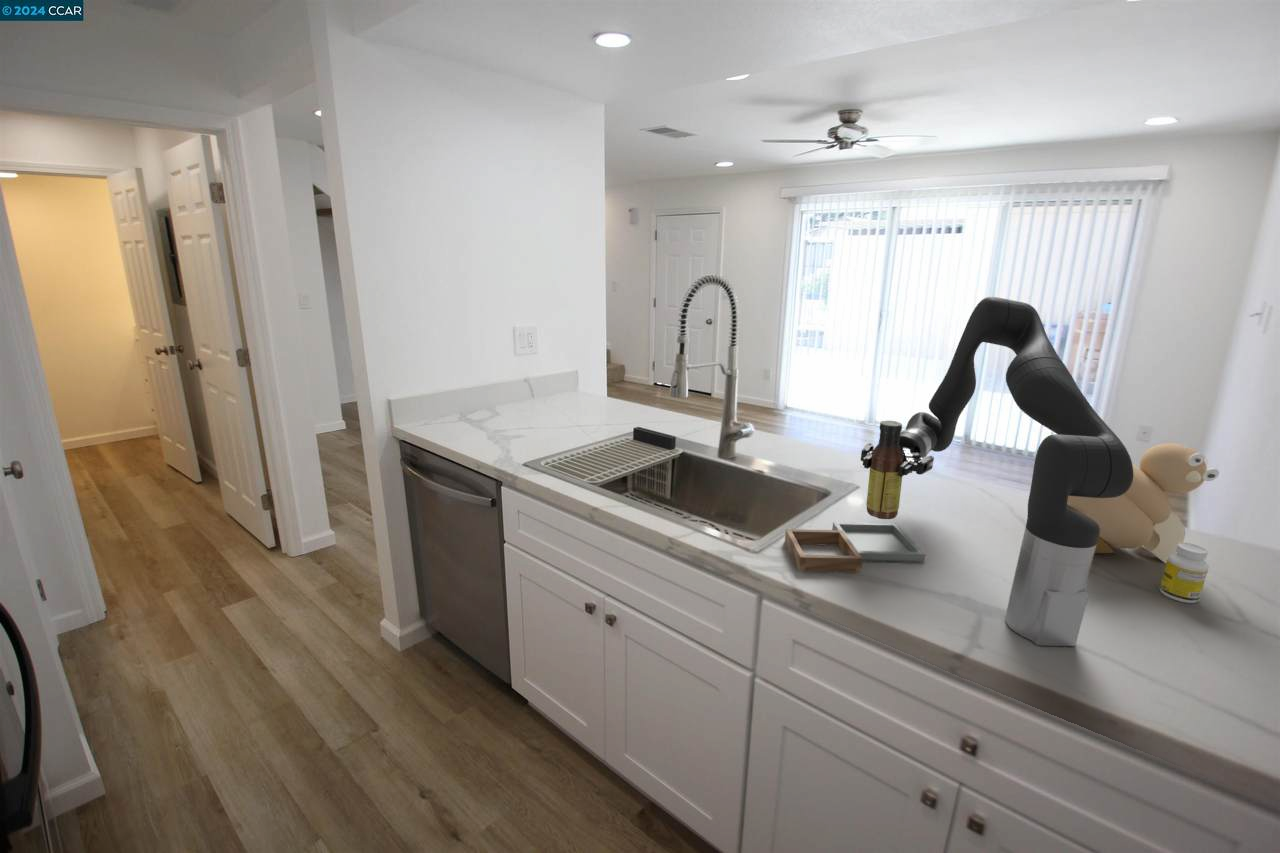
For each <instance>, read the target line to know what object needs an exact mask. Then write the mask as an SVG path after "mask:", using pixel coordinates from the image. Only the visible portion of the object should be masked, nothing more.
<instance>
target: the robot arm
mask: <svg viewBox="0 0 1280 853" xmlns="http://www.w3.org/2000/svg"><path fill="white" fill-rule="evenodd" d="M982 343H986V344H992V345H996V346H1001V347H1006V348H1008V349H1010V350H1012V351H1013V352H1014V354H1015V357H1014V358H1013V359H1012V360H1011V362H1010V363H1009V365H1008V367H1007V369H1006V373H1005V382H1006V386H1007V388H1008V390H1009V392H1010V394H1011V397H1012V398H1013V401H1014V402H1015V404H1016V406H1017V407H1018V408H1019V410H1021V412H1023V413H1024V414H1025V415H1026V416H1028V417H1029V418H1030V419H1032V420H1034V421H1035V422H1037V423H1039V424H1040V425H1041V426H1043V427H1045V428H1046V429H1049V431H1052V432H1054V434H1050V435H1048V436H1046V437H1045V438H1043V440H1042V441H1041V443H1040V444H1039V446H1038V448H1037V451H1036V454H1035V459H1034V464H1033V471H1032V477H1031V483H1030V484H1031V485H1030V491H1029V495H1028V500H1027V501H1028V502H1027V518H1026V519H1027V520H1026V523H1025V526H1024V527H1025V528H1024V532H1023V535H1022V536H1023V537H1022V541H1021V545H1020V550H1019V554H1018V558H1017V562H1016V567H1015V572H1014V576H1013V579H1012V580H1013V581H1012V586H1011V589H1010V593H1009V598H1008V604H1007V608H1006V613H1005V618H1004V620H1005V623H1006V624H1007V626H1008V627H1009V628H1010V629H1011V630H1013V632H1015V633H1016V634H1018V635H1020V636H1021V637H1023V638H1025V639H1027V640H1030V641H1032V642H1033V643H1034V644H1035V645H1036V646H1047V647H1048V646H1049V647H1051V646H1052V647H1076V644H1077V641H1078V637H1079V634H1080V630H1081V628H1082V627H1081V626H1082V624H1083V623H1082V622H1083V620H1084V619H1083V618H1084V615H1085V611H1086V607H1087V603H1088V600H1089V596H1090V594H1089V593H1088V592H1087V591H1086V590H1085V589H1086V585H1087V582H1088V578H1089V574H1090V570H1091V567H1092V564H1093V560H1094V556H1095V554H1096V553H1095V549H1096V545H1097V542H1098V538H1099V534H1100V527H1099V525H1098V524H1097V523H1096V522H1095V521H1094V520H1093V519H1091V518H1089V517H1088V516H1086V515H1084V514H1082V513H1079V512H1077V511H1074V510H1072V509H1070V508H1067V500H1068V496H1079V497H1092V498H1113V497H1118V496H1121V495H1122V494H1124V493H1126V492H1127V491H1128V490H1129V488H1130V487H1131V484H1132V481H1133V475H1134V474H1133V465H1134V464H1133V462H1132V458H1131V456H1130V454H1129V451H1128V450H1127V448H1126V446H1125V445H1124V443H1123V442H1122V440H1120V438H1119V437H1118V436H1117V434H1115V432H1114V431H1113V430H1112V429H1111V428H1110V427H1109V426H1108V424H1107V423H1105V421H1104V420H1103V419H1102V418H1101V416H1100V415H1099V414H1098V412H1096V410H1094V408H1093V406H1092V405H1091V404H1090V403H1089V401H1088V400H1087V398H1086V396H1085V395H1084V394H1083V392H1082V390H1081V389H1080V388H1079V386H1078V385H1077V382H1076V381H1075V379H1074V377H1073V375H1072V374H1071V372H1070V371H1069V369H1068V368H1067V366H1066V364H1065V363H1064V362H1063V360H1062V359H1061V358H1060V356H1059V355H1058V353H1057V351H1056V349H1055V348H1054V345H1053V344H1052V342H1051V340H1050V338H1049V337H1048V334H1047V332H1046V330H1045V327H1044V324H1043V321H1042V319H1041V317H1040V315H1039V313H1038V311H1037V309H1036V308H1035V307H1033V306H1032V305H1030V304H1029V303H1027V302H1025V301H1024V302H1023V301H1017V300H1014V299H1008V298H1002V297H997V296H987V297H985V298H983V299H981V300H980V301H979V302H978V303H977V305H976V306H975V307H974V309H973V310H972V312H971V314H970V316H969V318H968V320H967V323H966V325H965V327H964V329H963V332H962V335H961V337H960V340H959V342H958V344H957V347H956V349H955V351H954V354H953V357H952V359H951V362H950V365H949V366H948V369H947V371H946V373H945V376H944V377H943V379H942V381H941V383H940V384H939V385H938V386H937V389H936V391H935V392H934V394H933V396H932V397H931V399H930V401H929V403H928V409H929V411H930V413H932V414H930V413H927V412H923V411H921V412H920V411H919V412H917V413H914V415H912V416H911V417H910V419H909V420H908V422H907V424H906V427H905V429H904V430H901V432H900V439H899V442H900V443H899V446H900V448H901V451H902V454H903V456H904V460H903V464H901V465H900V467H899V472H898V476H900V477H902V478H903V477H904V476H908V475H909V474H913V472H915V473H916V475H923V474H925V473H927V472H929V471H930V470H932V469H933V466H934V460H935V457H934V456H932V455H928V454H929V453H930V452H936V453H937V452H938V453H939V452H943V451H945V450H947V449H948V448H949V447H950V446H951V444H952V442H953V440H954V438H955V433H956V428H957V425H958V422H959V419H960V416H961V414H962V413H963V411H964V410H965V408H966V406H967V405H968V403H969V402H970V401H971V399H972V398H973V396H974V394H975V391H976V386H977V385H976V384H977V376H976V368H975V356H976V352H977V350H978V348H979V347H980V346H981V345H982ZM933 415H934V416H933ZM874 449H875V446H874V445H873V443H871V442H868V443H866V444H865V445H864V446H863V448H862V449H861V453H860V461H861V462H862V466H863V468H864V469H870V465H871V457H872V451H873V450H874ZM1132 464H1133V465H1132Z"/></svg>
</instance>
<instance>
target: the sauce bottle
mask: <svg viewBox="0 0 1280 853" xmlns="http://www.w3.org/2000/svg"><path fill="white" fill-rule="evenodd" d="M902 429H903V424H902V423H901V422H898V421H895V420H882V421H880V423H879V438H878V439H879V440H878V443H877V445H876V446H874V448H875V449H874V450H873V451H872V457H871V465H870V468H869V473H868V474H869V475H868V486H867V493H866V494H867V495H866V503H865V504H866V512H867V514H868V515H869V516H870V517H873V518H876V519H880V520H893V519H895V518H896V517H897V516H898V514H899V508H900V502H901V499H900V497H901V491H902V490H901V489H902V482H903V477H900V476H898V472H899V467H900V465H901V464H903V460H904V456H903V454H902V451H901V448H900V446H899V443H900V442H899V439H900V432H902V431H903V430H902Z"/></svg>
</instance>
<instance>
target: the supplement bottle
mask: <svg viewBox="0 0 1280 853" xmlns="http://www.w3.org/2000/svg"><path fill="white" fill-rule="evenodd" d="M1207 556H1208V550H1207V549H1206V548H1204V547H1203V546H1200V545H1197V544H1194V543H1191V542H1189V543H1188V542H1183V543H1178V545H1177V548H1176V553H1173V554H1171V555H1170V556H1169V557H1168V560H1167V563H1165V564H1166V565H1165V567H1164V572H1163V575H1162V578H1161V582H1160V584H1159V591H1160V593H1161V594H1163V595H1164V596H1165V597H1167V598H1169V599H1171V600H1174V601H1178V602H1181V603H1187V604H1191V603H1192V604H1194V603H1195V604H1196V603H1197V602H1198V601H1199V599H1200V597H1201V593H1202V590H1203V588H1204V584H1205V581H1206V578H1207V574H1208V571H1209V567H1210V566H1209V564H1208V563H1207V561H1206V559H1207Z"/></svg>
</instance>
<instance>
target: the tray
mask: <svg viewBox="0 0 1280 853" xmlns="http://www.w3.org/2000/svg"><path fill="white" fill-rule="evenodd" d="M831 530H843V532H844V533H845V534H846V536H847V537H848V539H849V540H850V541H851V543H852V544H853V545H854V547H855V548H856V550H857V551H858V552H859V554H860V555H861V556H862V558H863V562H862V563H889V564H893V563H894V564H895V563H896V564H924V563H925V558H926V554H925V552H923V550H922V549H921V548H920V547H919V546H918V545H917V544H916V543H915V542H914V540H912V539H911V538H910V537H909V536H908V534H906V532H905V531H904V530H903V529H902V528H901V527H900V525H898V524H897V523H895V522H894V523H891V522H890V523H889V522H846V521H845V522H844V521H843V522H841V521H840V522H839V521H836V522H835V521H833V522H832V529H831Z"/></svg>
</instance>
